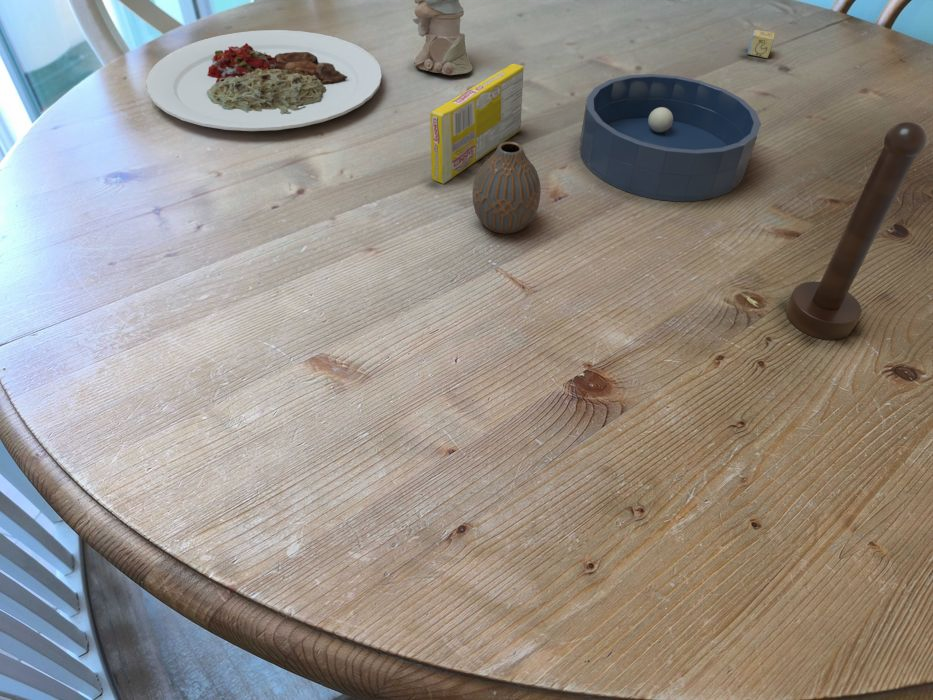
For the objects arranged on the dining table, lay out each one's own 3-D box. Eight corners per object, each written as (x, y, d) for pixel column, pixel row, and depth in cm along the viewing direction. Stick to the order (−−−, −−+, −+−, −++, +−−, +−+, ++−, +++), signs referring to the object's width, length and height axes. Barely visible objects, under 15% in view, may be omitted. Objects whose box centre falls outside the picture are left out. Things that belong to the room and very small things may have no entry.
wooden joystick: (843, 300, 72) (939, 108, 58) (860, 343, 67) (969, 146, 54) (779, 294, 72) (861, 102, 58) (793, 336, 67) (884, 139, 54)
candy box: (507, 126, 94) (512, 61, 89) (521, 131, 93) (527, 66, 88) (428, 179, 84) (428, 109, 79) (443, 185, 84) (445, 115, 78)
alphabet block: (748, 48, 116) (754, 28, 114) (768, 51, 116) (775, 31, 113) (746, 55, 114) (752, 35, 112) (767, 59, 113) (774, 38, 111)
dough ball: (668, 126, 95) (674, 104, 93) (671, 137, 93) (676, 115, 91) (645, 124, 95) (649, 102, 93) (646, 135, 93) (652, 113, 91)
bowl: (730, 126, 97) (743, 81, 93) (758, 208, 83) (775, 160, 79) (578, 113, 98) (585, 68, 94) (580, 193, 84) (589, 144, 79)
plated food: (319, 162, 86) (316, 135, 84) (98, 114, 92) (90, 88, 90) (415, 64, 107) (415, 40, 105) (230, 30, 113) (226, 7, 111)
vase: (487, 248, 75) (493, 170, 69) (460, 212, 80) (463, 136, 74) (548, 234, 77) (558, 158, 71) (518, 200, 82) (526, 125, 76)
